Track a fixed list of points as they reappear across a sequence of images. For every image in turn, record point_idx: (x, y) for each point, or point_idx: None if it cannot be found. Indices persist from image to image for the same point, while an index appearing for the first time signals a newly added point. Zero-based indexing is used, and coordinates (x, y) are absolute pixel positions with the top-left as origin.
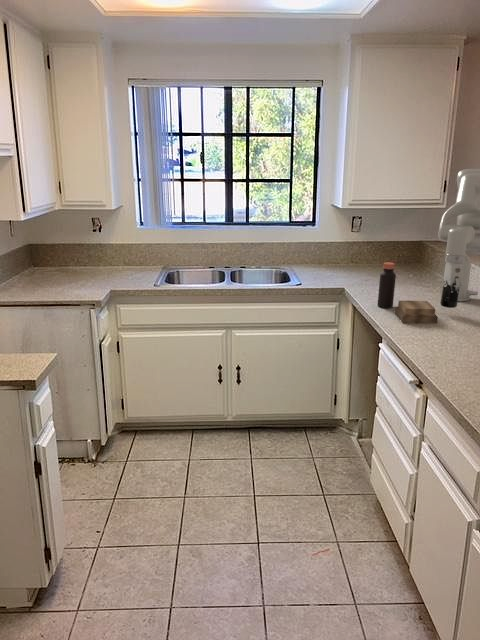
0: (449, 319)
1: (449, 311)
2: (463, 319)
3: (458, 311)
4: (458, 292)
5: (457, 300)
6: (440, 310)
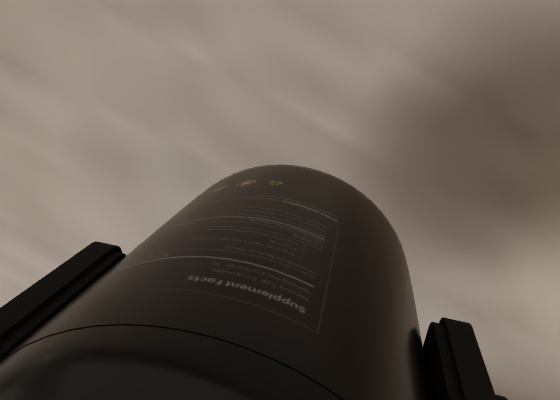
0: (484, 289)
1: (194, 132)
2: (525, 127)
3: (194, 19)
4: (398, 381)
5: (382, 248)
6: (159, 211)
